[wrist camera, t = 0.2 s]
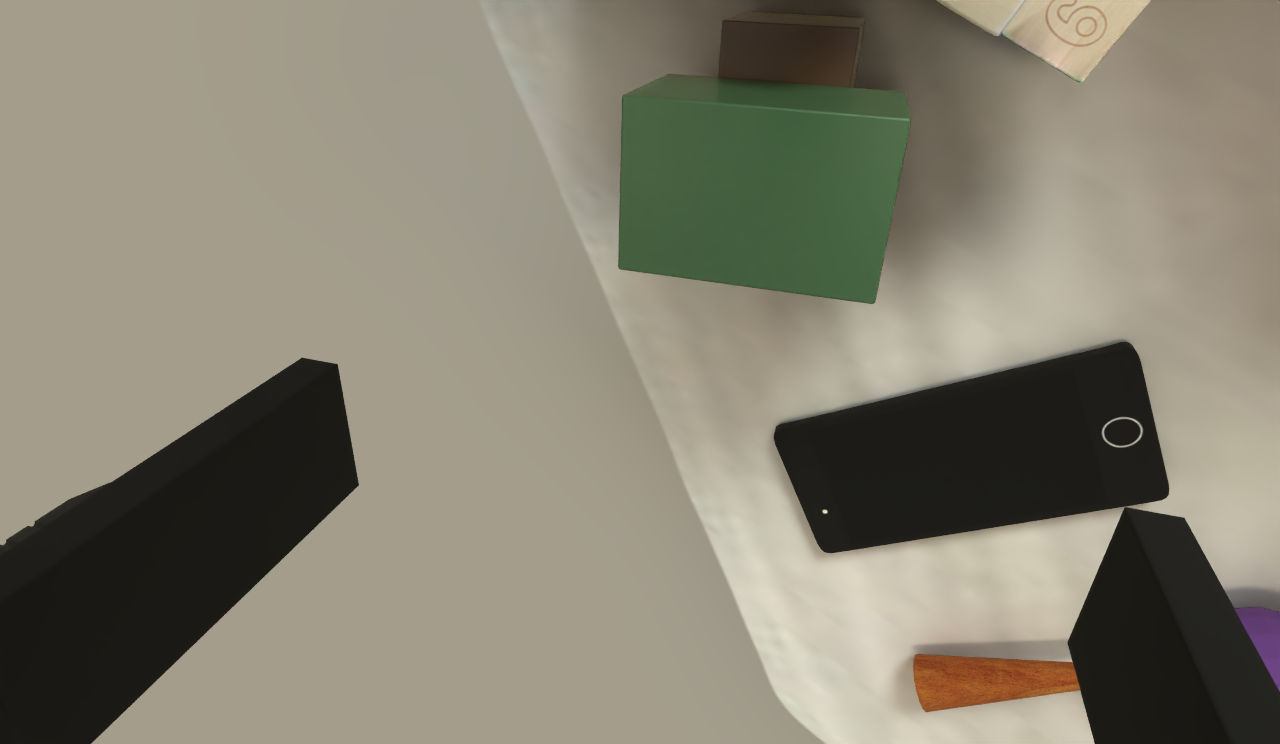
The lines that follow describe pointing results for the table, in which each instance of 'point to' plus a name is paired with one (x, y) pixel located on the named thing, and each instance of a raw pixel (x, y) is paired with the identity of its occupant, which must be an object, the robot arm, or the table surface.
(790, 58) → the walnut block
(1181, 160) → the table surface
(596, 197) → the table surface
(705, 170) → the green block
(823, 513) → the cell phone
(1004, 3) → the stack of blocks
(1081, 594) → the table surface
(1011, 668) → the kendama
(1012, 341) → the table surface
